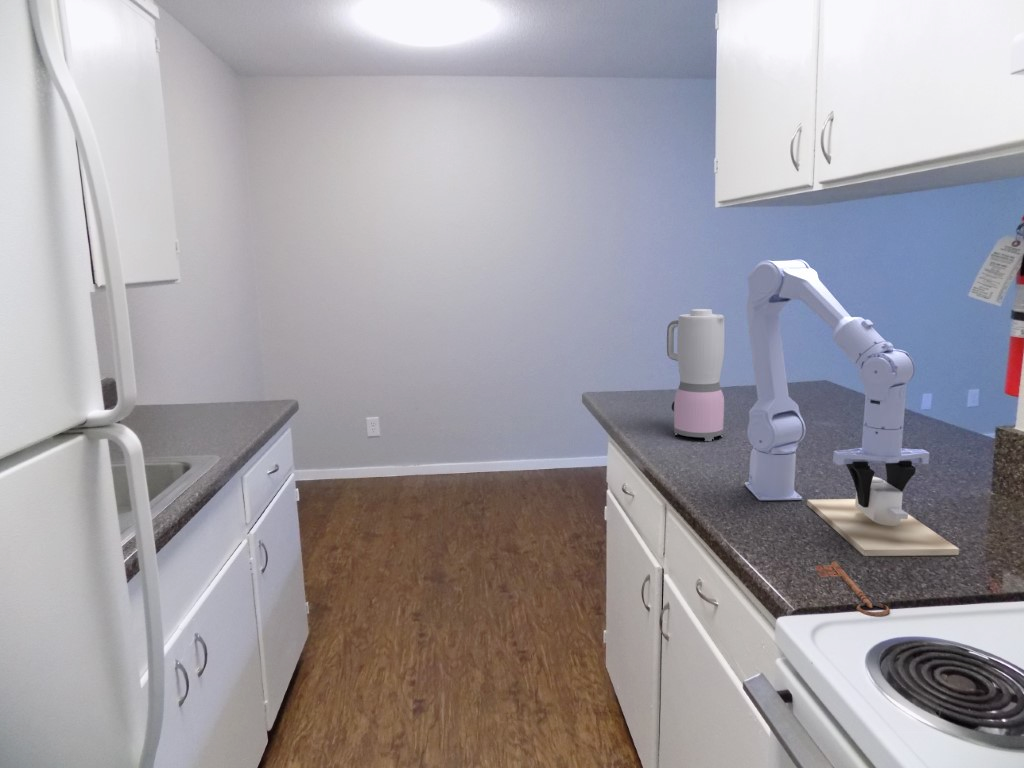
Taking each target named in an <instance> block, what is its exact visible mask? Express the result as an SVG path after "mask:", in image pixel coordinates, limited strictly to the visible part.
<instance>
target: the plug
mask: <svg viewBox="0 0 1024 768" xmlns="http://www.w3.org/2000/svg"><path fill="white" fill-rule="evenodd" d="M903 495H904V493H903V491H902V492H901V491H900V490H898V489H897V488H895V487H894V486H892V485H890V484H889V483H887V480H884V479H882V478H881V477H877V476H873V479H872V482H871V487H870V498H869V505H868V507H862V506H861V505H860V504H858V497H857V492H856V491H855V499H856V501H855V507H856V508H857V509H858V510H860V511H861V512H862V513H864V514H865V515H866V516H868V517H869V518H870V519H871V520H873V521H874V522H876V523H878V524H882V525H888V526H896V525H899V524H900V520H901V519H907V518H908V514H909V513H908V512H906V511H904V509H902V506H903Z"/></svg>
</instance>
